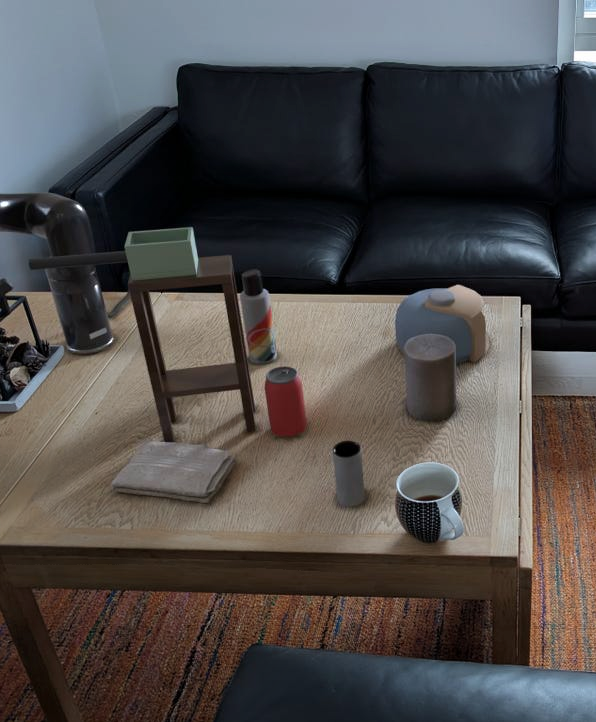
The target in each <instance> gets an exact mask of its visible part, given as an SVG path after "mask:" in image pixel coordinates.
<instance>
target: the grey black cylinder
mask: <svg viewBox="0 0 596 722" xmlns="http://www.w3.org/2000/svg"><path fill="white" fill-rule="evenodd" d="M362 452H363V451H362V446H361V444H360V443H358V442H357V441H354V440H343V441H339V442H337V443H336V444H335V445H334V446H333V447H332V460H333V470H334V471H333V472H334V480H335V490H336V498H337V499H336V500H337V502H338V504H339V505H341V506H343V507H348V508H351V507H352V508H353V507H357V506H359V505H360V504H362V503H363V502H364V501H365V497H366V493H365V480H364V467H363V453H362Z"/></svg>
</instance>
